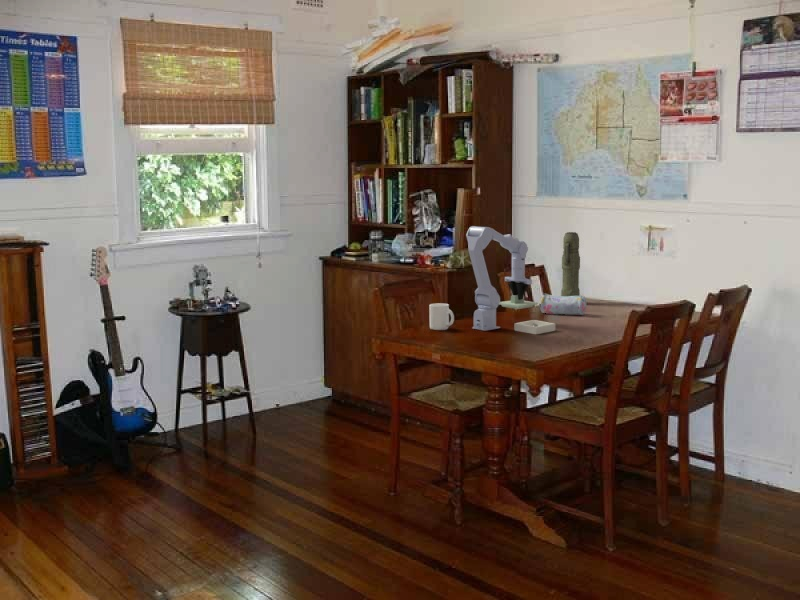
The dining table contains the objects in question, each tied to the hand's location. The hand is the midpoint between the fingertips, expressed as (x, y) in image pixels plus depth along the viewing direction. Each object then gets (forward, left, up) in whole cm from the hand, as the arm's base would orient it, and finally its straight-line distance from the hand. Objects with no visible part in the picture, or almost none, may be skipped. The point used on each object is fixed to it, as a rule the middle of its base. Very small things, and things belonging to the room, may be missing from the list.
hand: (518, 299), depth 409 cm
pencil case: (+30, 0, -11) cm, 32 cm away
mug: (-34, +11, -11) cm, 38 cm away
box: (-8, -18, -10) cm, 22 cm away
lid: (0, 0, -2) cm, 2 cm away
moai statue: (+57, +18, -11) cm, 60 cm away
